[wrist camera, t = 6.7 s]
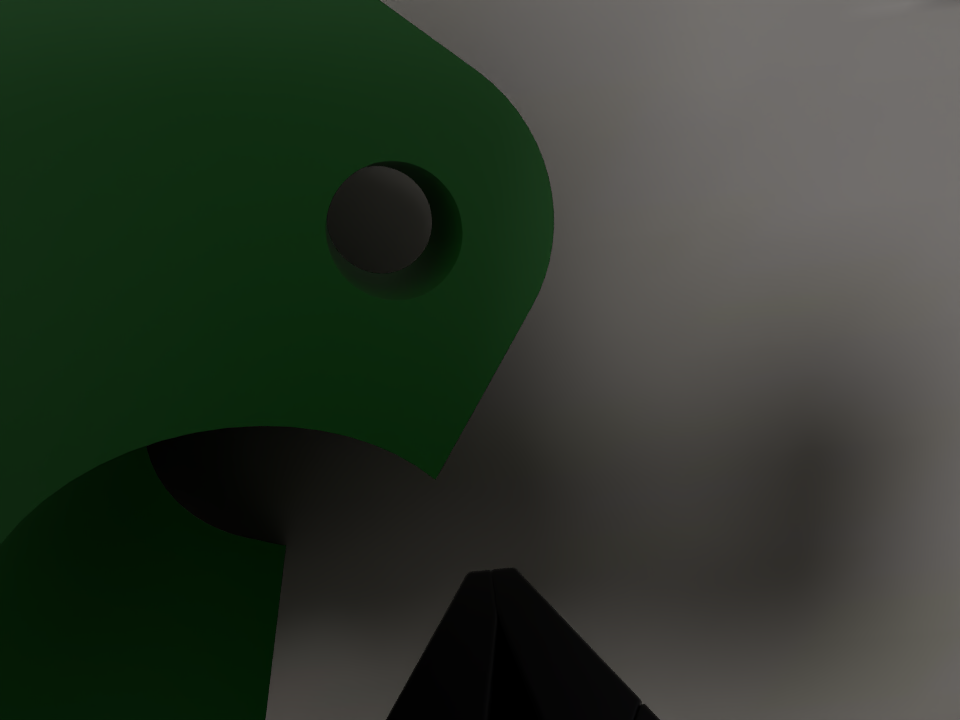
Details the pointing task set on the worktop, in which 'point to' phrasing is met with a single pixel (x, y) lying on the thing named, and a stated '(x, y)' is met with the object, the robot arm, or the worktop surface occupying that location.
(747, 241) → the worktop surface
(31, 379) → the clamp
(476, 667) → the robot arm
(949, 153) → the worktop surface
